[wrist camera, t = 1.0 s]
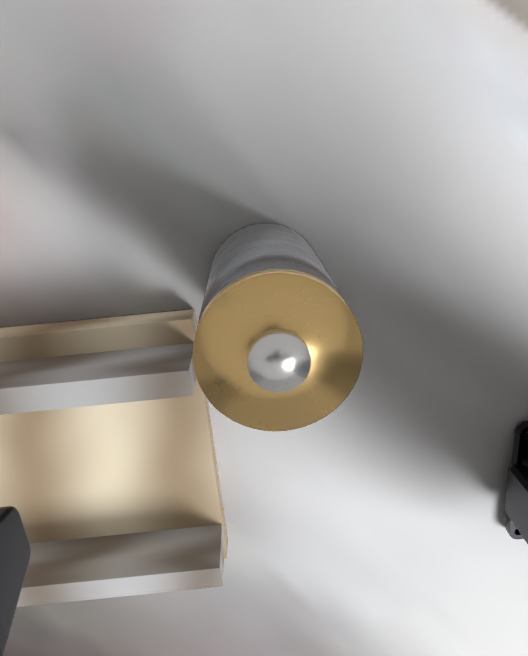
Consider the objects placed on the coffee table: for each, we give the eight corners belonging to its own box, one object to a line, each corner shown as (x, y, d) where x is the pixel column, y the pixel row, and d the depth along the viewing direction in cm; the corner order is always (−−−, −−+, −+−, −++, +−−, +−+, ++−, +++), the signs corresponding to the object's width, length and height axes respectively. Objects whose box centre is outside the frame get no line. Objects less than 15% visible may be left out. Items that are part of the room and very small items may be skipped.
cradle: (194, 309, 21) (184, 343, 17) (227, 539, 25) (225, 603, 22) (-150, 342, 21) (-229, 384, 17) (-57, 567, 25) (-106, 637, 21)
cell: (317, 217, 20) (365, 270, 12) (322, 323, 21) (367, 430, 14) (203, 228, 20) (178, 288, 12) (217, 334, 21) (203, 446, 13)
